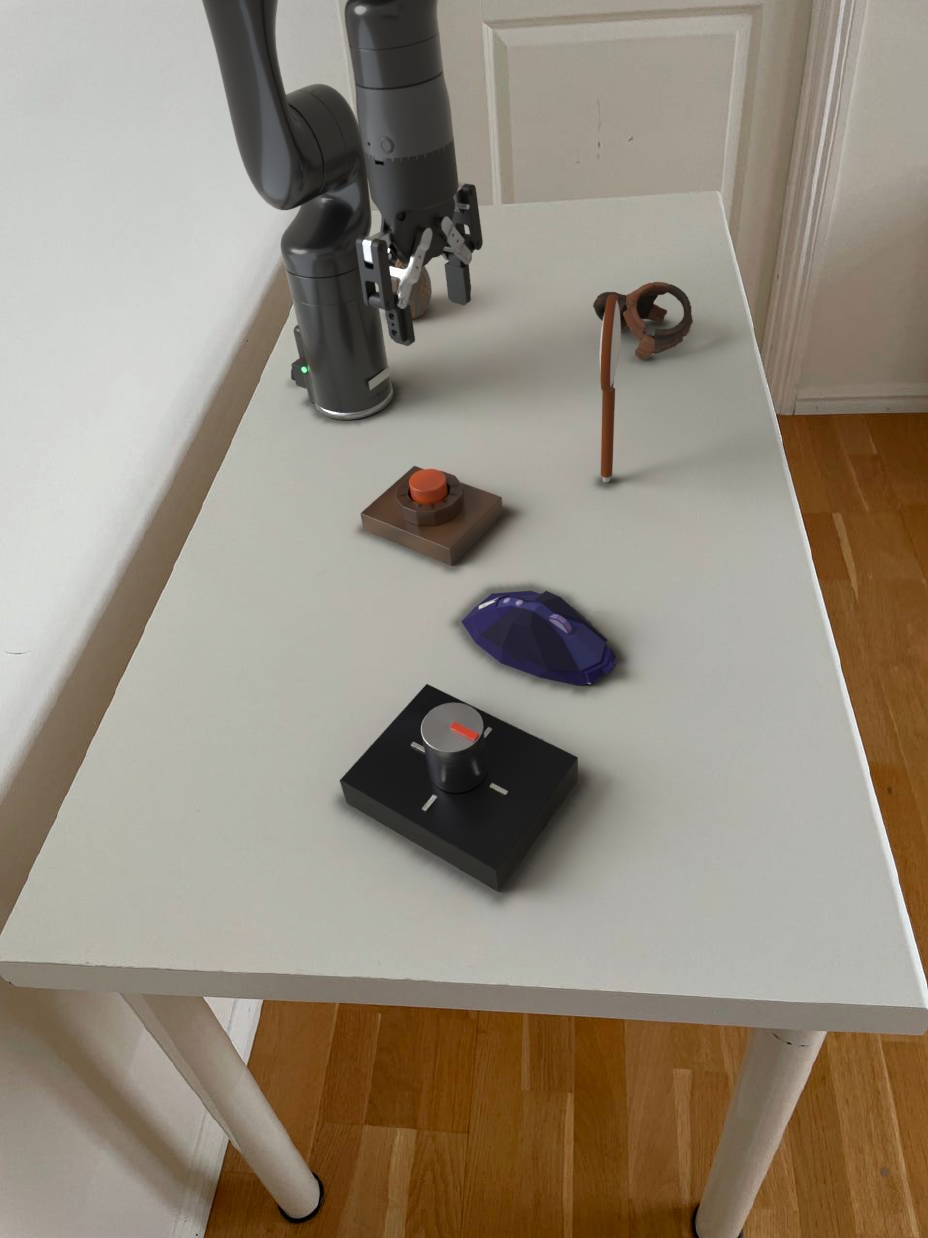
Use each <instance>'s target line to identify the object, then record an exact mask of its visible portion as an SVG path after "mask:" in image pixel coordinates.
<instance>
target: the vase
mask: <svg viewBox="0 0 928 1238" xmlns="http://www.w3.org/2000/svg"><path fill="white" fill-rule="evenodd" d="M407 267H408V265H407V264H403V263H402V262H400V261H399V259H398V258H397V261H396V268H399V269H406V268H407ZM399 284H400V279H397V280H396V281H395V285H394V289H393V292H398V288H399ZM432 293H433V290H432V281H431V277H430V274H429V272H428V269H427V268H426V265H425V266H423V267H422V269H421V272H420V276H419V280H418V281H417V282H416V283H414V284H413V285H412V289H411V293H410V296H409V300H408V304H407V305H410V309H411V315H412V320H414V319H418V318H419V317H421V316H423V314H424V313H425V312H426V310H428V307H429V306H430V304H431V300H432Z"/></svg>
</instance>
